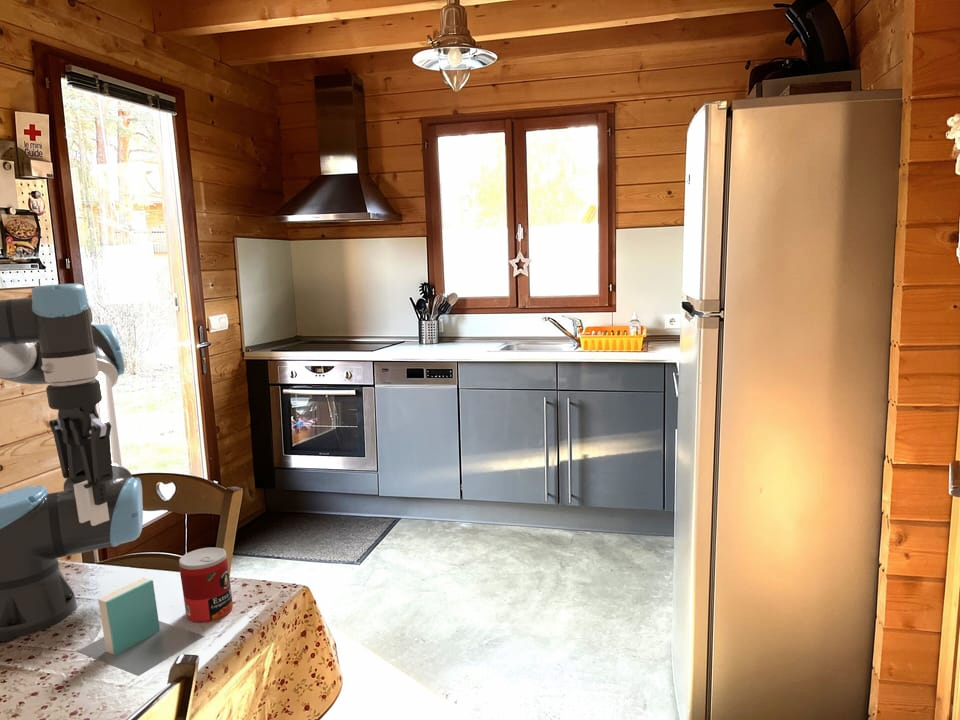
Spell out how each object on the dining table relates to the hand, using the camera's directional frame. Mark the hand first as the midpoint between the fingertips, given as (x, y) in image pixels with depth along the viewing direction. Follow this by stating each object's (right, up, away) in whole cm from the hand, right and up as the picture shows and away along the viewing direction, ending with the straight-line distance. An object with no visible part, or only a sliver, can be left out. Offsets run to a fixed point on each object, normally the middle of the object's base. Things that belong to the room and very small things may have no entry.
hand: (94, 520), depth 117 cm
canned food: (+16, -19, +8) cm, 26 cm away
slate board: (+8, -20, -1) cm, 22 cm away
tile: (+6, -20, 0) cm, 21 cm away
